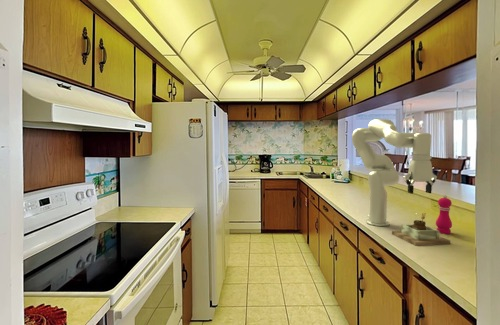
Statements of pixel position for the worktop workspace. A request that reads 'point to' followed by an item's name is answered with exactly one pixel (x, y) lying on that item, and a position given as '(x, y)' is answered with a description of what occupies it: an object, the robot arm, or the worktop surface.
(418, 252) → the worktop surface
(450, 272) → the worktop surface
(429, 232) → the collar stand
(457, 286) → the worktop surface
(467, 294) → the worktop surface
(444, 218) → the pepper mill
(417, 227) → the utensil holder
